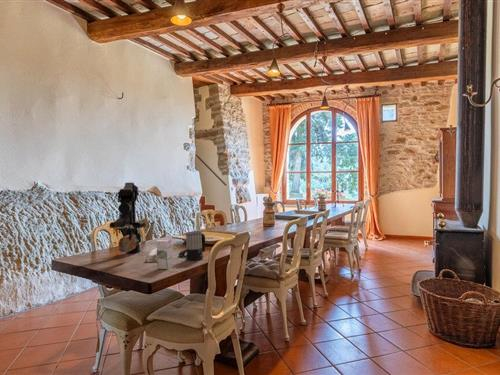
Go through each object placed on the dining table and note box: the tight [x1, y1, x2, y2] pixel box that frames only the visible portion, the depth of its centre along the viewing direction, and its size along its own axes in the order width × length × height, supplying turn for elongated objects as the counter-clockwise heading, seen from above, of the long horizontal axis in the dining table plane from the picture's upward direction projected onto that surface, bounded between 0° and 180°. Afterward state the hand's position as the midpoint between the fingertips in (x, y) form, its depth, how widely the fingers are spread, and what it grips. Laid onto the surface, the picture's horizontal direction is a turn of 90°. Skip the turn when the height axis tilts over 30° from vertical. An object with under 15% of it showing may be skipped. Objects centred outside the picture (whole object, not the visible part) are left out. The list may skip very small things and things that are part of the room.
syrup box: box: [155, 238, 173, 270], centre depth 175 cm, size 6×6×14 cm
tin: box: [118, 234, 138, 254], centre depth 191 cm, size 15×3×8 cm, turn 166°
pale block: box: [146, 247, 157, 263], centre depth 200 cm, size 10×20×4 cm, turn 2°
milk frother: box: [178, 230, 206, 262], centre depth 196 cm, size 14×16×15 cm
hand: (127, 240), depth 191 cm, fingers closed on tin, 3 cm apart
